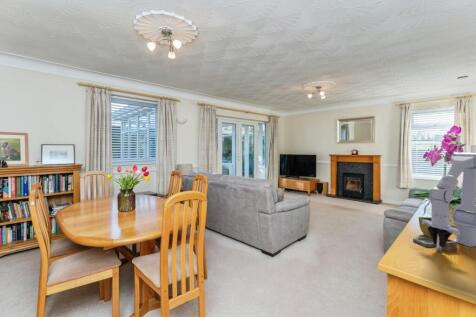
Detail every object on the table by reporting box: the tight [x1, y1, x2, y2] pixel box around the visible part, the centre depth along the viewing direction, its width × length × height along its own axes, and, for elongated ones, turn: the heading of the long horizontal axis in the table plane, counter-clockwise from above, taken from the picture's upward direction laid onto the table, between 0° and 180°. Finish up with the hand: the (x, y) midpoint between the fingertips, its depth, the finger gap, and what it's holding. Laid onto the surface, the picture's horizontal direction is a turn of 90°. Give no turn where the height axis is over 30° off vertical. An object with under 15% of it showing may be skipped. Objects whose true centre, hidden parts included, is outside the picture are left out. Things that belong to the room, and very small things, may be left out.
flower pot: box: [418, 216, 432, 239], centre depth 119 cm, size 9×9×9 cm
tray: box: [412, 236, 436, 248], centre depth 110 cm, size 8×7×2 cm
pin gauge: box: [435, 233, 443, 253], centre depth 102 cm, size 2×2×8 cm
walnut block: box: [442, 238, 458, 252], centre depth 104 cm, size 5×5×4 cm
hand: (439, 244), depth 102 cm, fingers closed on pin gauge, 2 cm apart
